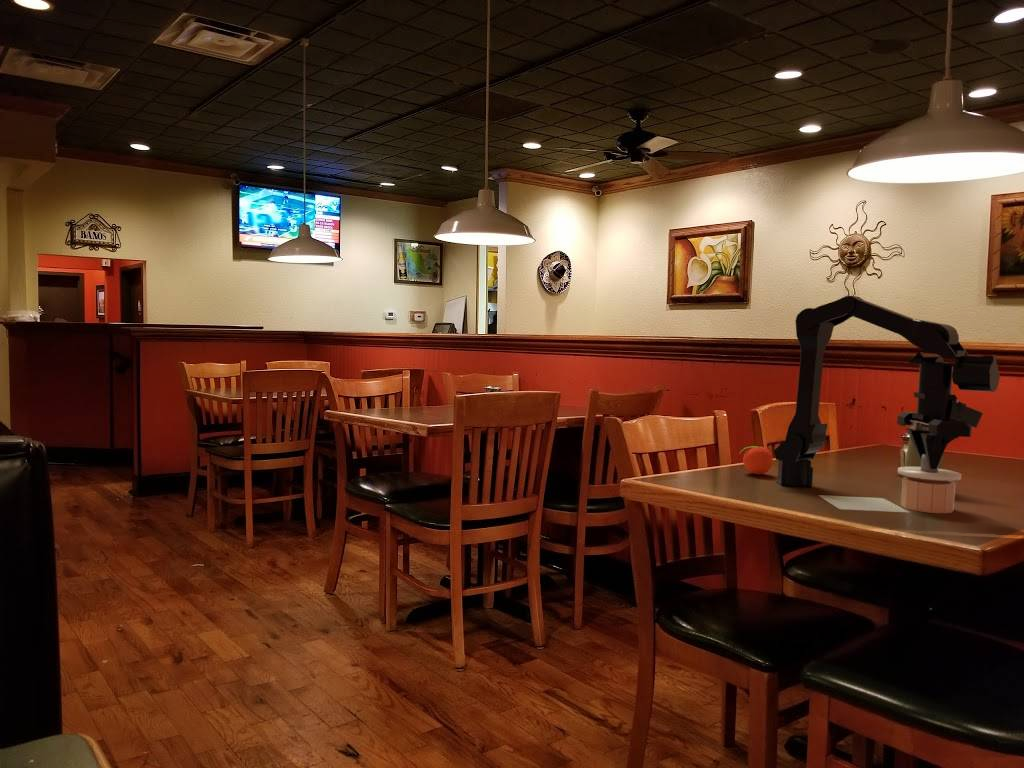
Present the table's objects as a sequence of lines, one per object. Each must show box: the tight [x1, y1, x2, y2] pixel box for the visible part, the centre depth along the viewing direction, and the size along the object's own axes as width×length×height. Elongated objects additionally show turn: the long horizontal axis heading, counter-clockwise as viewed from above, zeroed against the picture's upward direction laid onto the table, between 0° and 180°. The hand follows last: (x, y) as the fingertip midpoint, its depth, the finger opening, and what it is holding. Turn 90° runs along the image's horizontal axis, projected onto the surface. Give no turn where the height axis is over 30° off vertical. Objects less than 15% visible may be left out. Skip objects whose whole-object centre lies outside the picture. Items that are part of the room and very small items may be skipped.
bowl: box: [900, 476, 957, 514], centre depth 152 cm, size 9×9×6 cm
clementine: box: [739, 445, 774, 476], centre depth 188 cm, size 8×7×7 cm
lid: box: [897, 454, 962, 482], centre depth 152 cm, size 11×11×4 cm
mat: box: [818, 494, 911, 514], centre depth 154 cm, size 13×13×1 cm
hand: (929, 467), depth 152 cm, fingers closed on lid, 3 cm apart
